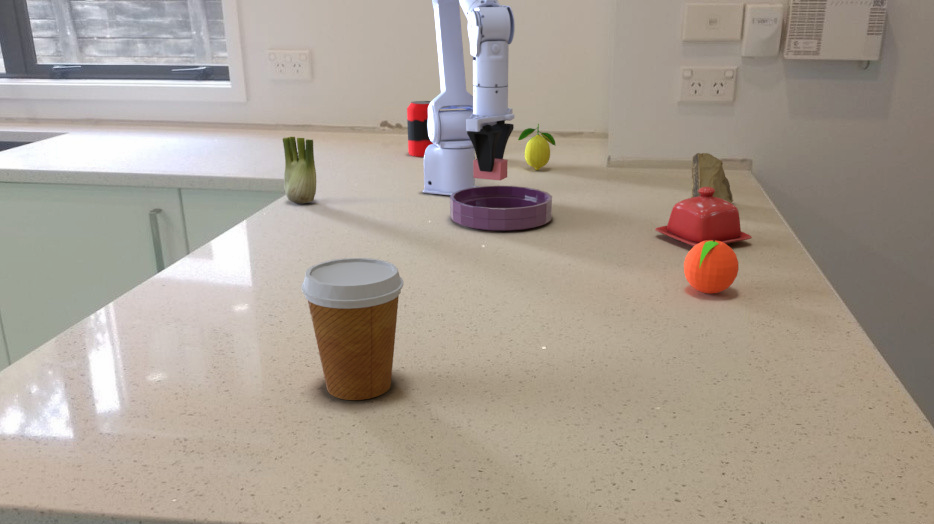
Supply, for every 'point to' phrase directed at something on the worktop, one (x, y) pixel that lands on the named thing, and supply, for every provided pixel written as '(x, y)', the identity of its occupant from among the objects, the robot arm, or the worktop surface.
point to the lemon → (537, 148)
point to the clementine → (711, 266)
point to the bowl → (501, 208)
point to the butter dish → (704, 220)
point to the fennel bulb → (299, 170)
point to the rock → (709, 176)
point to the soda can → (418, 128)
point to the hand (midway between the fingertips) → (490, 169)
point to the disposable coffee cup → (354, 323)
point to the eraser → (497, 172)
